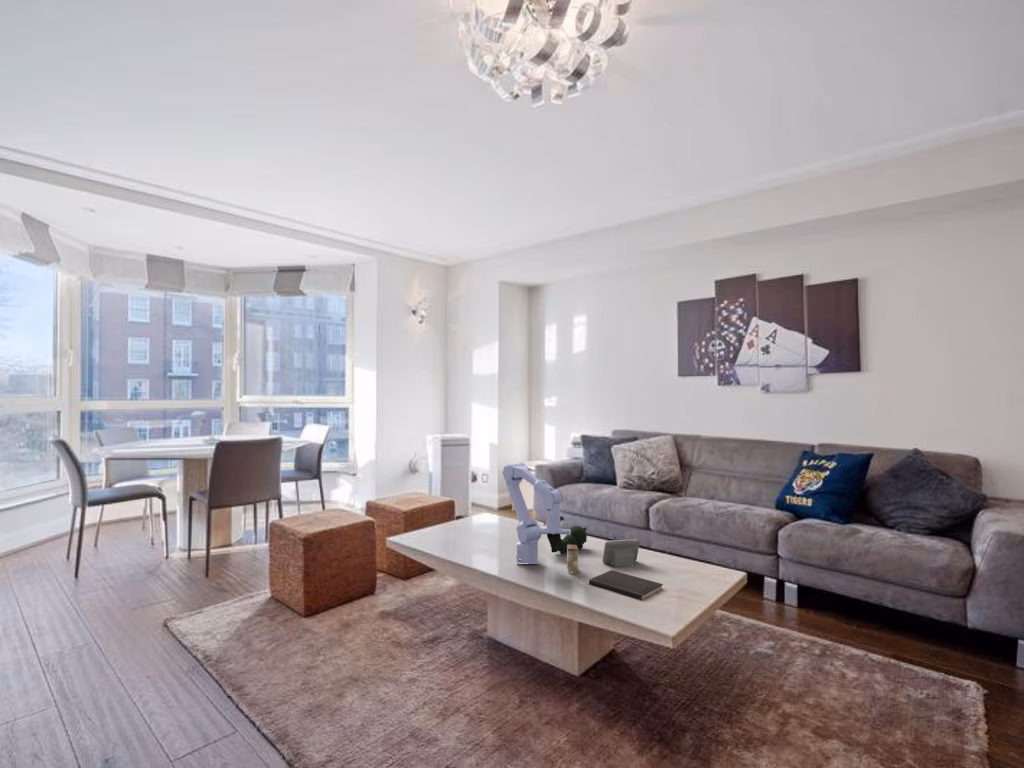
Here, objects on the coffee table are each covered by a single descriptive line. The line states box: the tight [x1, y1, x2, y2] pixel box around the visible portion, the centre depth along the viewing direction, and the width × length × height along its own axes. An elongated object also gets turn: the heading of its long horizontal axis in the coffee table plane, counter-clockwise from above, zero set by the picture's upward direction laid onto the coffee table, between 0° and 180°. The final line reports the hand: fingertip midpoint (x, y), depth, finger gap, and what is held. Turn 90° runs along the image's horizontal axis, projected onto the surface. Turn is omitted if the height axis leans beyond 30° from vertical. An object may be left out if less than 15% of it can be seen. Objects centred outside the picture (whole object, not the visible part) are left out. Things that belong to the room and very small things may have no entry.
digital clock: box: [602, 538, 641, 568], centre depth 226 cm, size 16×9×11 cm, turn 91°
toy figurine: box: [549, 515, 588, 555], centre depth 244 cm, size 9×19×25 cm
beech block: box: [566, 545, 579, 574], centre depth 217 cm, size 4×6×10 cm, turn 178°
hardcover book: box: [588, 569, 664, 601], centre depth 199 cm, size 16×23×2 cm
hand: (553, 551), depth 217 cm, fingers closed
